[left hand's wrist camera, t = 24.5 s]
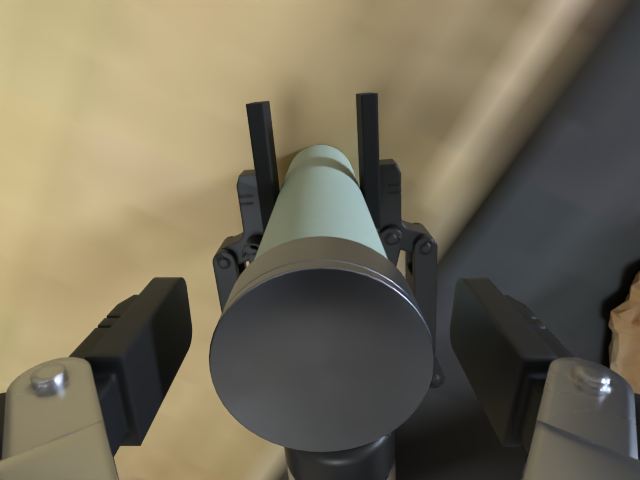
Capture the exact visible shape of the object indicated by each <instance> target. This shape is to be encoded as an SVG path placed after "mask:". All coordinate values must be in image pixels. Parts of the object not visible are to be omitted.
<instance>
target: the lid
mask: <svg viewBox="0 0 640 480" xmlns="http://www.w3.org/2000/svg"><path fill="white" fill-rule="evenodd" d="M209 366H210V373H211V378H212V382H213V385H214V387H215V390H216V392H217V394H218V396H219V398H220V400H221V402H222V403H223V405H224V406H225V407H226V409H227V410H228V411H229V413H230V414H231V415H232V416H233V417H234V418H235V419H236V420H237V421H238V422H239V423H240V424H242V425H243V426H244V427H245V428H247V429H248V430H249V431H251V432H253V433H254V434H256V435H258V436H259V437H261V438H263V439H265V440H268V441H270V442H272V443H275V444H278V445H280V446H283V447H287V448H292V449H296V450H303V451H310V452H331V451H341V450H347V449H352V448H356V447H359V446H363V445H366V444H368V443H371V442H374V441H376V440H378V439H380V438H382V437H384V436H386V435H387V434H389V433H390V432H392V431H393V430H395V429H397V428H398V427H399V426H400V425H401V424H403V423H404V422H405V421H406V420H407V419H408V418H409V417H410V416H411V415H412V414H413V413H414V412H415V410H416V409H417V408H418V406H419V405H420V404H421V402H422V401H423V399H424V397H425V395H426V393H427V391H428V388H429V386H430V383H431V380H432V375H433V370H434V348H433V341H432V338H431V335H430V331H429V329H428V327H427V324H426V322H425V320H424V318H423V315H422V313H421V311H420V309H419V307H418V304H417V302H416V300H415V298H414V295H413V293H412V291H411V289H410V287H409V285H408V283H407V281H406V279H405V278H404V276H403V275H402V274H401V272H400V271H399V270H398V269H397V268H396V267H395V265H394V264H393V263H392V262H390V261H389V260H388V259H387V258H386V257H384V256H383V255H382V254H380V253H378V252H377V251H375V250H374V249H372V248H370V247H368V246H365V245H363V244H361V243H358V242H355V241H352V240H348V239H344V238H338V237H328V236H315V237H305V238H300V239H295V240H291V241H288V242H285V243H282V244H280V245H278V246H276V247H273V248H271V249H269V250H268V251H266V252H265V253H263V254H262V255H260V256H259V257H257V258H256V259H255V260H254V261H253V262H252V263H250V264H249V265H248V267H247V268H246V269H245V270H244V271H243V272H242V273H241V275H240V276H239V278H238V280H237V281H236V283H235V284H234V287H233V289H232V291H231V293H230V296H229V298H228V300H227V303H226V305H225V307H224V310H223V312H222V314H221V317H220V319H219V321H218V324H217V326H216V328H215V331H214V333H213V337H212V340H211V344H210V352H209Z"/></svg>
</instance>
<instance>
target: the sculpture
mask: <svg viewBox="0 0 640 480" xmlns="http://www.w3.org/2000/svg"><path fill="white" fill-rule="evenodd" d="M608 326H609V327H610V329H611V330H612V340H611V343H610V345H609V362H610V369H611V370H613V371H614V372H616V373H618V374H619V375H620V376H622V377H623V378H624V379H625V380H626V381H627V382H628V383H629V384H630V386H631V387H632V389H633V392H634V393H637V394H640V271H639V272H638V273H637V274H636V276H635V278H634V280H633V282H632V284H631V286H630V290H629V295H627V297H626V299H625V302H623V303H622V304H620V305H619V306H617V307H616V308H615V309H613V310H612V311H611V313H610V319H609V325H608Z"/></svg>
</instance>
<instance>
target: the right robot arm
mask: <svg viewBox="0 0 640 480" xmlns="http://www.w3.org/2000/svg"><path fill="white" fill-rule="evenodd" d="M356 107H357V130H358V154H359V178H360V190H361V192H362V195H363V197H364V200H365V203H366V205H367V208H368V210H369V213H370V215H371V218H372V220H373V223H374V225H375V228H376V230H377V233H378V236H379V238H380V241H381V243H382V246H383V248H384V251H385V253H386V256H387V258H388V260H389V261H390V262H392V263H393V264H394V265H395V267H396V266H397V262H398V257H399V253H400V250H404V251H405V260H406V281H407V283H408V285H409V287H410V289H411V291H412V293H413V295H414V298H415V300H416V302H417V304H418V307H419V309H420V311H421V313H422V315H423V318H424V320H425V322H426V324H427V327H428V329H429V331H430V335H431V338H432V341H433V348H434V370H433V375H432V380H431V383H430V386H429V387H431V388H436V387H439V386H441V385H442V384H443V383H444V381H445V377H444V375H443V372H442V370H441V368H440V365H439V363H438V361H437V358H436V356H435V340H436V290H437V243H436V242H435V241H434V239H433V238H432V236H431V235H430V234H429V232H428V231H427V230H426V228H425V227H424V226H423V225H422V224H420V223H413V224H412V223H408V222H405V221H403V220H401V172H400V170H399V168H398V165H397V163H396V162H395V161H394V160H393V159H386V160H379V132H378V93H360V94H356ZM246 109H247V116H248V123H249V131H250V138H251V145H252V152H253V160H254V167H255V170H244V171H243V172H242V173H241V174H240V175H239V178H238V182H237V192H238V197H239V204H240V211H241V217H242V224H243V233H241V234H239V235H237V236H230V237H227V238H226V239H225V240H224V242H223V243H222V245H221V246H220V248H219V249H218V251H217V253H216V254H215V256H214V258H213V267H214V273H215V278H216V284H217V289H218V295H219V300H220V306H221V311H222V312H223V310H224V307H225V305H226V303H227V300H228V298H229V296H230V293H231V291H232V289H233V287H234V284H235V283H236V281H237V280H238V278H239V276H240V275H241V273H242V272H243V271H244V270H245V269H246V268H247V267H246V261H248V260H249V263H252V262H253V261H254V259H255V257H256V254H257V251H258V249H259V246H260V243H261V241H262V238H263V235H264V233H265V230H266V227H267V225H268V222H269V219H270V217H271V214H272V211H273V209H274V206H275V203H276V201H277V198H278V195H279V193H280V189H279V180H278V172H277V163H276V155H275V146H274V138H273V129H272V121H271V112H270V103H269V101H264V102H254V103H249V104H246ZM284 448H285V455H286V461H287V465H288V475H289V480H396V466H395V430H393V431H392V432H390V433H389V434H387V435H386V436H384V437H382V438H380V439H378V440H376V441H374V442H371V443H368V444H366V445H363V446H359V447H356V448H352V449H347V450H341V451H331V452H310V451H303V450H296V449H292V448H287V447H284Z"/></svg>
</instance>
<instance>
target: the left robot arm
mask: <svg viewBox="0 0 640 480" xmlns="http://www.w3.org/2000/svg"><path fill="white" fill-rule="evenodd" d="M191 339H192V323H191V315H190V308H189V300H188V293H187V286H186V282H185V280H184V278H182V277H156V278H153V279H152V280H151V282H150V283H149V284H148V285H147V286H146V287H145V288H144V290H143V291H142V292H141V293H140V294H139V295H133V296H131V297H130V298H128V299H126V300H124V301H123V302H121V303H119V304H118V305H117V306H116V307H115V308H114V309H113V310H112V311H111V312H110V313H109V314H108V315H107V318H104V319H103V321H102V322H101V323H100V324H99V325H98V328H95V329H94V330H93V331H92V332H91V333H90V335H89V336H88V337H87V338H86V339H85V340H84V341H83V342H82V343H81V344H80V345H79V346H78V347H77V348H76V350H75V351H74V352H73V353H72V354H71V355H70V356H69V357H66V358H59V359H54V360H50V361H47V362H44V363H41V364H39V365H37V366H35V367H33V368H31V369H29V370H27V371H26V372H24V373H22V374H21V375H20V376H18V377H17V378H16V379H15V380H14V381H13V382H12V383H11V384H10V386H9V387H8V389H7V392H6V393H1V394H0V480H119V477H118V473H117V469H116V465H115V461H114V456H115V454H116V452H117V450H118V449H119V447H120V446H141V444H142V442H143V440H144V438H145V436H146V434H147V432H148V430H149V428H150V426H151V424H152V422H153V420H154V418H155V416H156V414H157V412H158V410H159V408H160V406H161V404H162V402H163V400H164V398H165V396H166V394H167V392H168V390H169V388H170V386H171V384H172V382H173V380H174V378H175V376H176V374H177V372H178V370H179V368H180V366H181V364H182V362H183V360H184V358H185V356H186V354H187V352H188V350H189V347H190V344H191ZM450 339H451V344H452V348H453V350H454V352H455V354H456V356H457V358H458V360H459V362H460V364H461V366H462V368H463V370H464V372H465V374H466V376H467V378H468V380H469V382H470V384H471V386H472V388H473V390H474V392H475V394H476V396H477V398H478V400H479V401H480V403H481V405H482V407H483V409H484V411H485V413H486V415H487V417H488V419H489V421H490V423H491V425H492V427H493V429H494V431H495V433H496V435H497V437H498V439H499V441H500V443H501V445H502V447H523V448H524V449H525V451H526V453H527V457H526V461H525V465H524V469H523V473H522V477H521V480H640V394H637V393H634V392H633V389H632V387H631V386H630V384H629V383H628V382H627V381H626V380H625V379H624V378H623V377H622V376H620V375H619V374H618V373H616V372H614V371H613V370H611V369H609V368H607V367H605V366H603V365H601V364H599V363H596V362H593V361H590V360H586V359H581V358H574V357H573V356H572V354H571V353H570V352H569V351H568V350H567V349H566V348H565V347H564V346H563V345H562V344H561V343H560V342H559V341H558V340H557V339H556V337H555V336H554V335H553V334H552V333H551V332H550V331H549V330H548V329H545V326H544V325H543V324H542V323H541V322H540V320H539V319H536V316H535V315H534V314H533V313H532V312H531V311H530V310H529V309H528V308H527V307H526V306H525V305H524V304H522V303H520V302H519V301H517V300H515V299H514V298H512V297H510V296H508V295H503V294H502V293H501V292H500V291H499V290H498V288H497V287H496V286H495V285H494V284H493V283H492V282H491V281H490V280H489V279H488V278H459V279H458V281H457V283H456V288H455V295H454V302H453V309H452V317H451V324H450Z"/></svg>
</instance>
